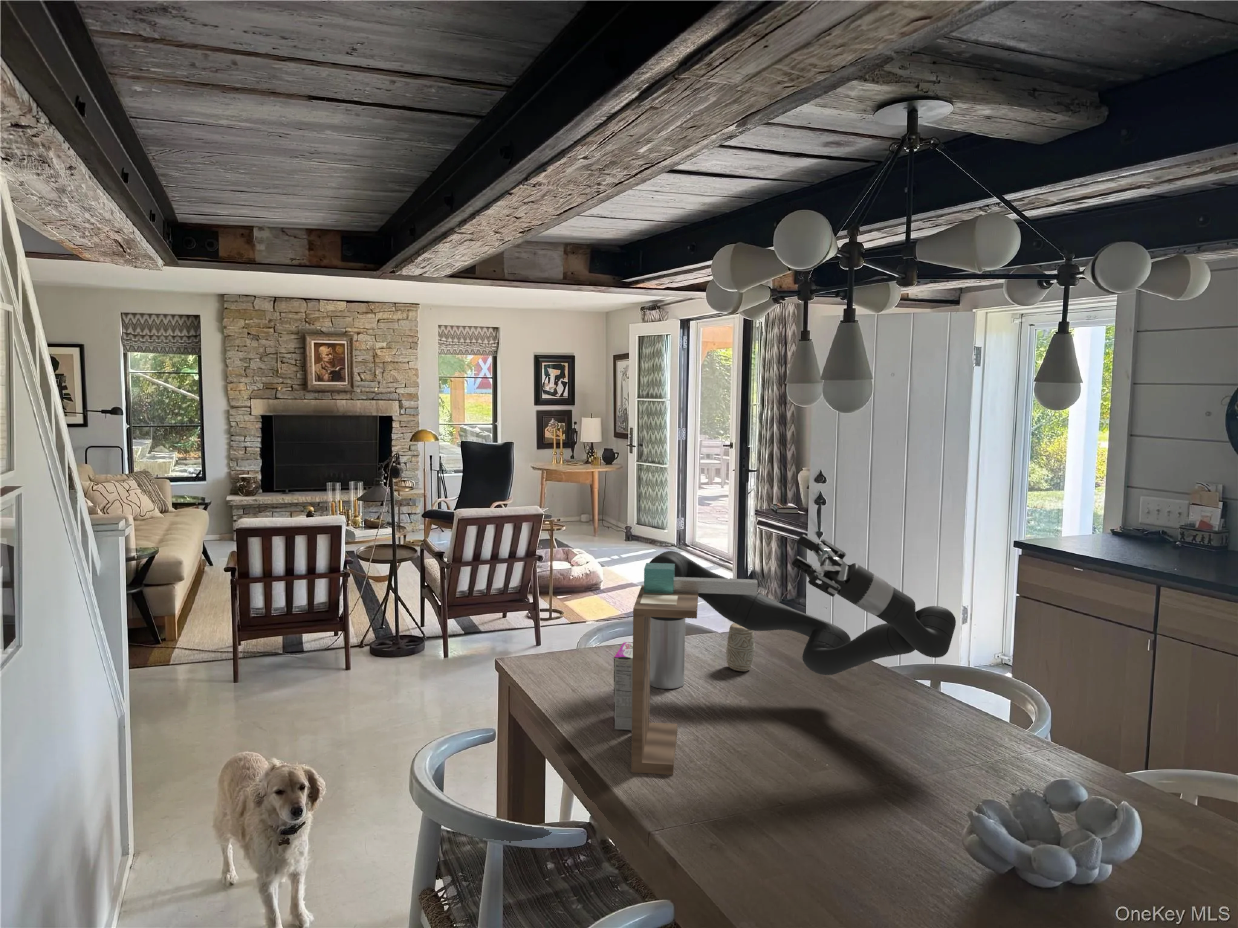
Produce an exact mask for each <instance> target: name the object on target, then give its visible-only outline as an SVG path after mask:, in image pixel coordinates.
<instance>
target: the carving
mask: <svg viewBox="0 0 1238 928" xmlns="http://www.w3.org/2000/svg"><path fill="white" fill-rule="evenodd" d="M727 635H728V636H727V642H726V651H725V652H726V653H725V655H726V657H725V658H726V659H725V660H726V664H727V666H728V668H730V669H731V670H733V671H738V672H743V673H744V672H748V671H749V670H750V669H751V667H752V663H753V661H754V657H755V650H756V649H755V646H756V645H755V642H756V641H755V631H752V630H749V629H746V628H744V627H742V626H740V625H738V624H736V623H734V622H732V624H730V626H729V630H728V634H727Z"/></svg>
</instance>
